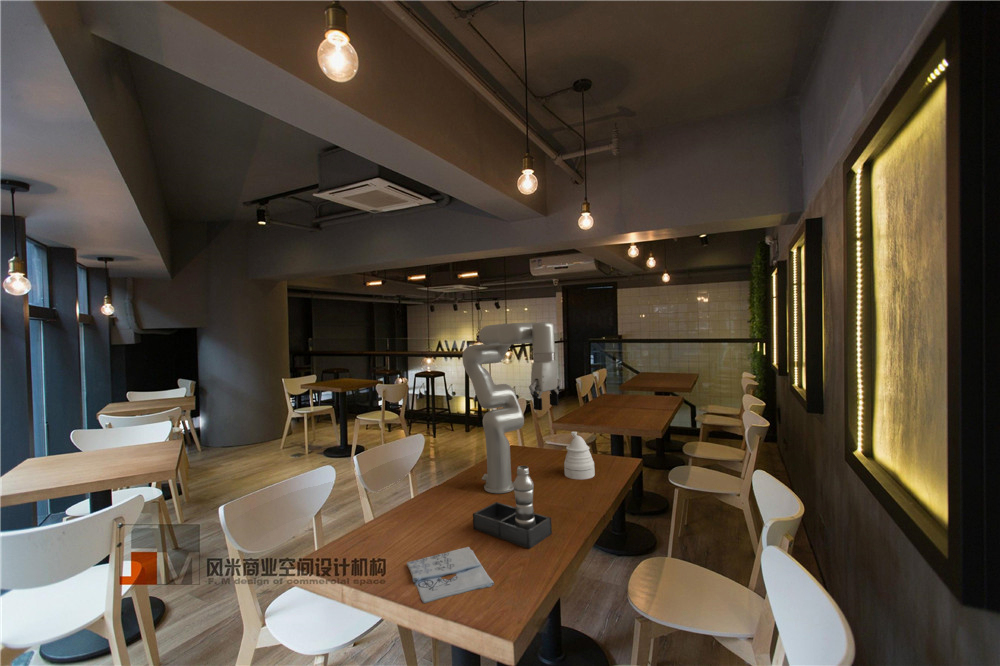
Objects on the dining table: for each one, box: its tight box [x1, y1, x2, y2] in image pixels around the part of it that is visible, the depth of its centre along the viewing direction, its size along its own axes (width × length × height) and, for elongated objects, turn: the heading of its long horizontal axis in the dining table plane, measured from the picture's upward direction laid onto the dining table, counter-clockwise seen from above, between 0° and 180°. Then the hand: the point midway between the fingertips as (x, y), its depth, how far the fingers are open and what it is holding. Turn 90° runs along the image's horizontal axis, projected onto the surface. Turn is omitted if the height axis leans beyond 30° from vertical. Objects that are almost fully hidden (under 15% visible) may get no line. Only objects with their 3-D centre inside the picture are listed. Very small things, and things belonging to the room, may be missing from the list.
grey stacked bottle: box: [513, 465, 536, 530], centre depth 136 cm, size 6×7×20 cm
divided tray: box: [472, 501, 553, 550], centre depth 139 cm, size 22×12×5 cm, turn 50°
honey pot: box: [563, 431, 596, 480], centre depth 190 cm, size 13×13×18 cm
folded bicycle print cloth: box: [406, 546, 495, 604], centre depth 116 cm, size 19×20×2 cm
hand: (546, 407), depth 152 cm, fingers open, 9 cm apart
